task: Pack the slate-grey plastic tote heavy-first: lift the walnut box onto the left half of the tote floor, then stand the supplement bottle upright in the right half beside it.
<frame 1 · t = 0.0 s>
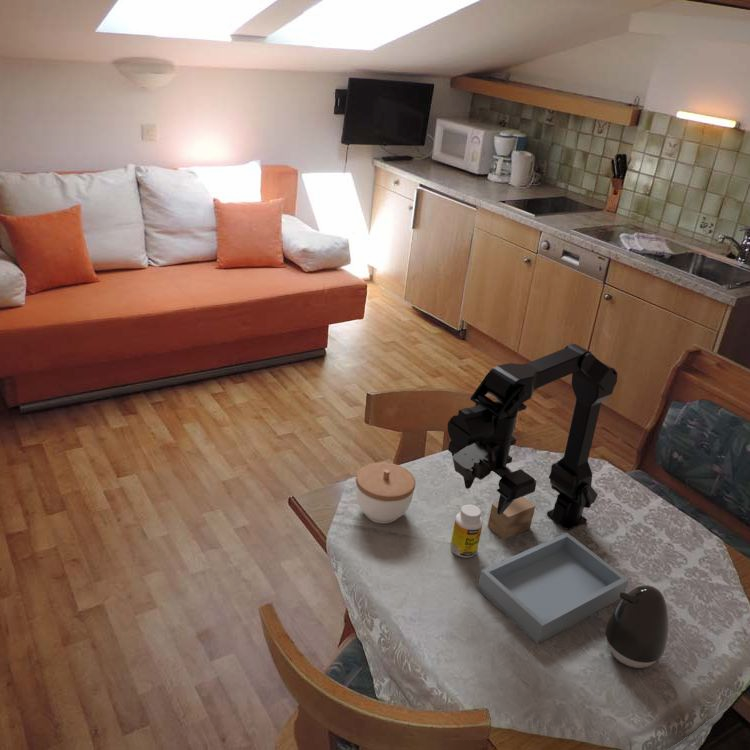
hand: (483, 500, 147), 15 cm above the table, tool pointing down, fingers open, 9 cm apart
lidded bowl: (381, 513, 164), on the table
walnut box: (508, 527, 164), on the table
supplement bottle: (463, 550, 156), on the table
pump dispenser: (628, 655, 135), on the table
tote: (550, 592, 147), on the table
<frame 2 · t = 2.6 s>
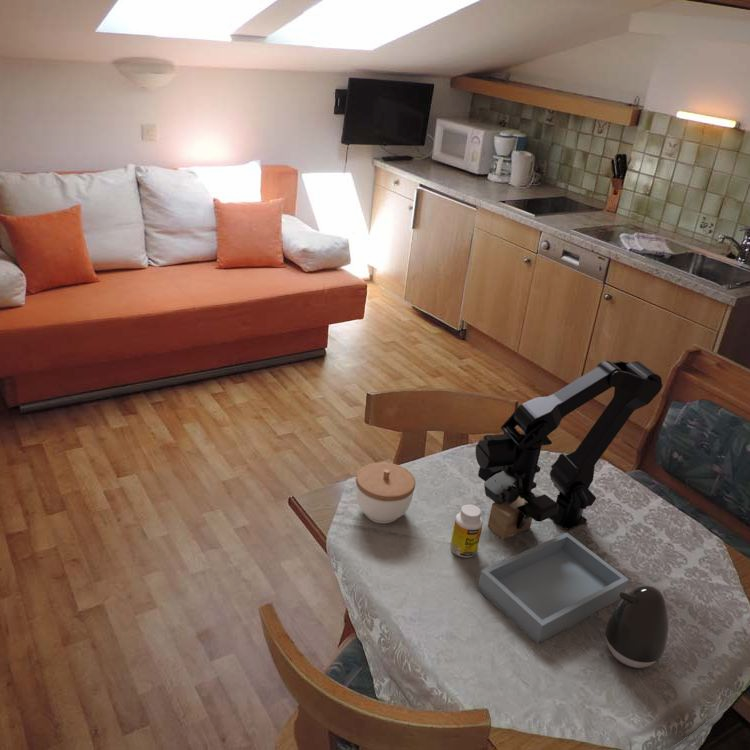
hand: (510, 521, 163), 2 cm above the table, tool pointing down, fingers closed on walnut box, 5 cm apart
walnut box: (508, 527, 164), on the table, touching gripper
everything else where it was.
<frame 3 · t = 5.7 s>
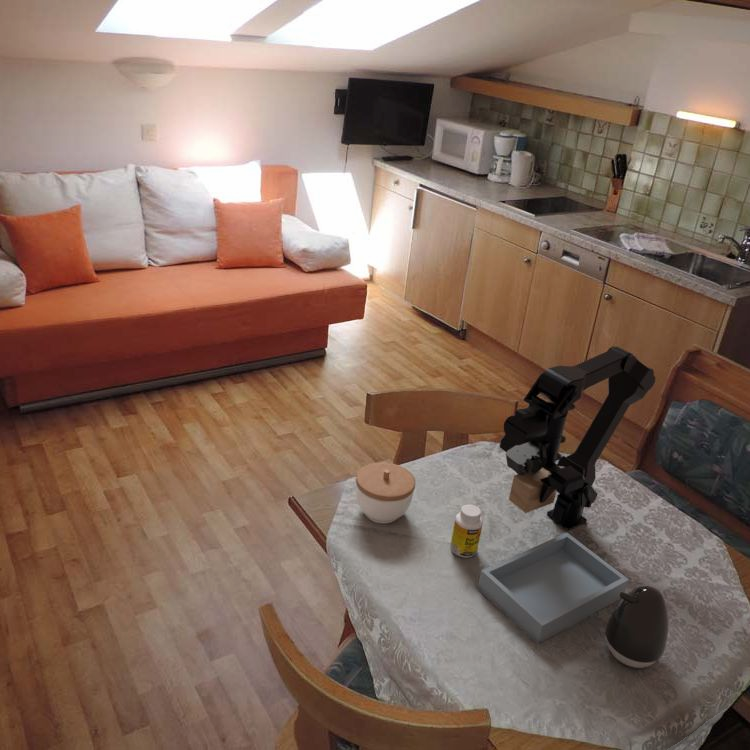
hand: (532, 495, 156), 11 cm above the table, tool pointing down, fingers closed on walnut box, 5 cm apart
walnut box: (531, 501, 156), point 10 cm above the table, touching gripper
everything else where it was.
when the fingers open (4 cm above the table, at t = 8.9 s): walnut box drops 1 cm, resting on tote.
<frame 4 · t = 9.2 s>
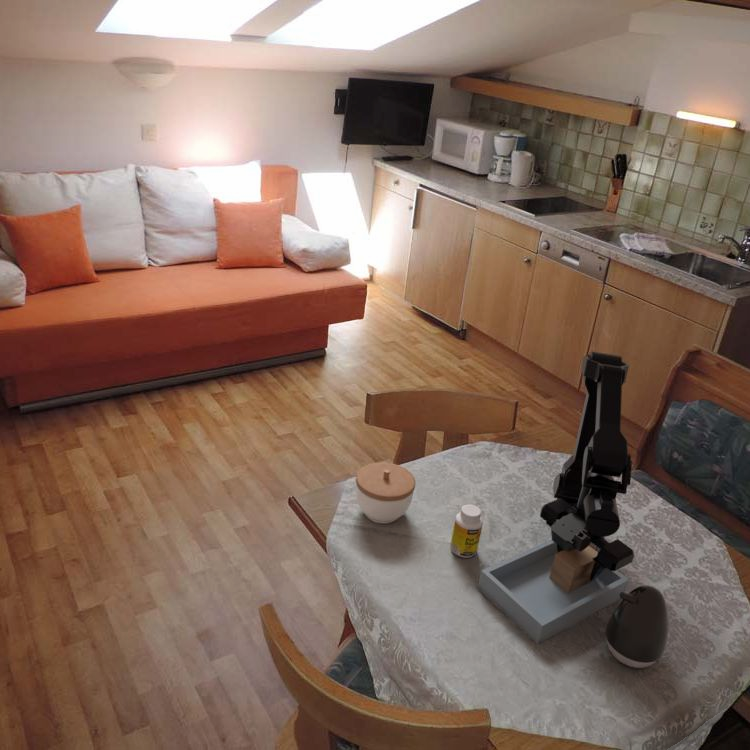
hand: (576, 566, 148), 4 cm above the table, tool pointing down, fingers open, 8 cm apart
walnut box: (572, 578, 150), point 1 cm above the table, touching tote
everything else where it was.
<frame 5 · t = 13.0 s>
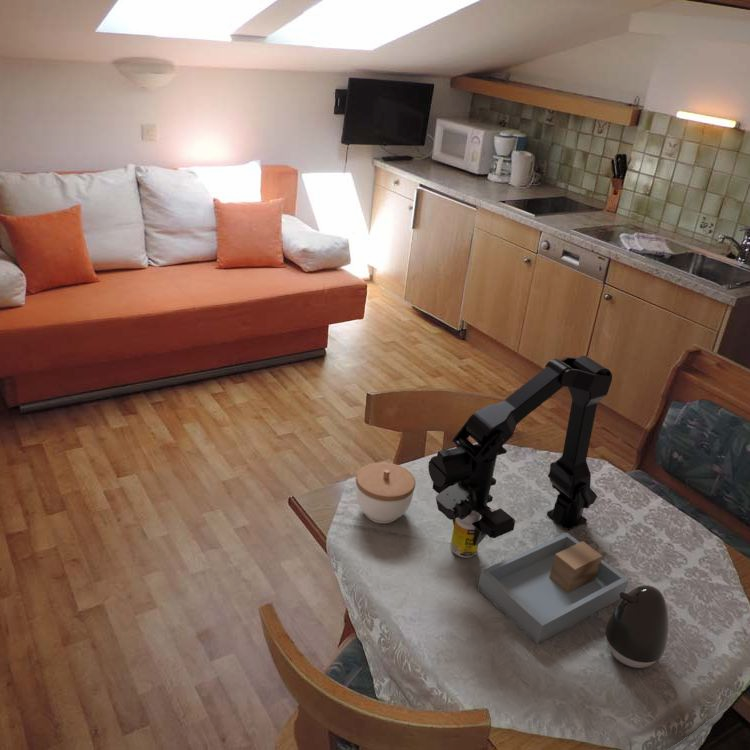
hand: (466, 536, 154), 4 cm above the table, tool pointing down, fingers closed on supplement bottle, 6 cm apart
supplement bottle: (463, 550, 156), on the table, touching gripper
everything else where it was.
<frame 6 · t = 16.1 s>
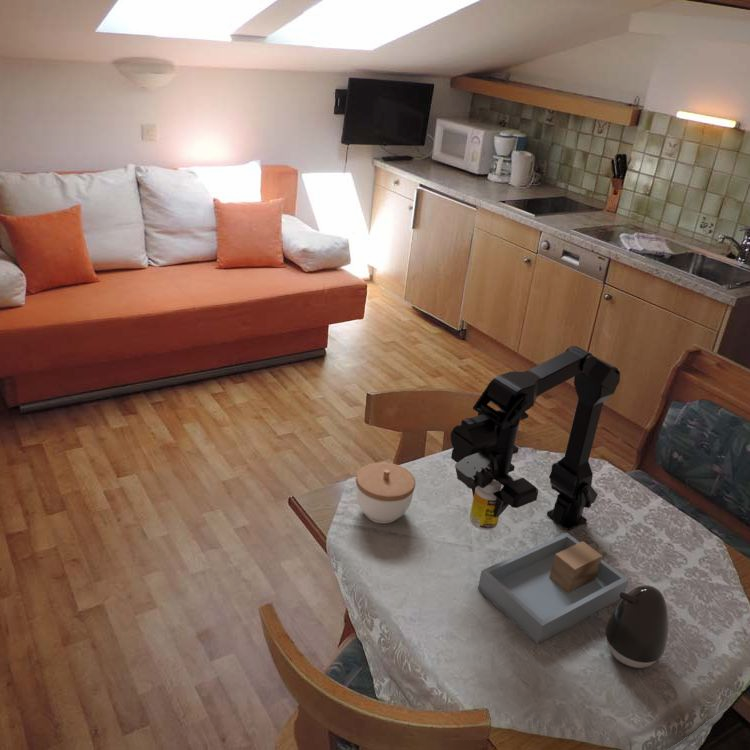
hand: (486, 508, 148), 13 cm above the table, tool pointing down, fingers closed on supplement bottle, 6 cm apart
supplement bottle: (483, 523, 149), point 9 cm above the table, touching gripper
everything else where it was.
when the fingers open (6 cm above the table, at t = 19.2 s): supplement bottle drops 1 cm, resting on tote.
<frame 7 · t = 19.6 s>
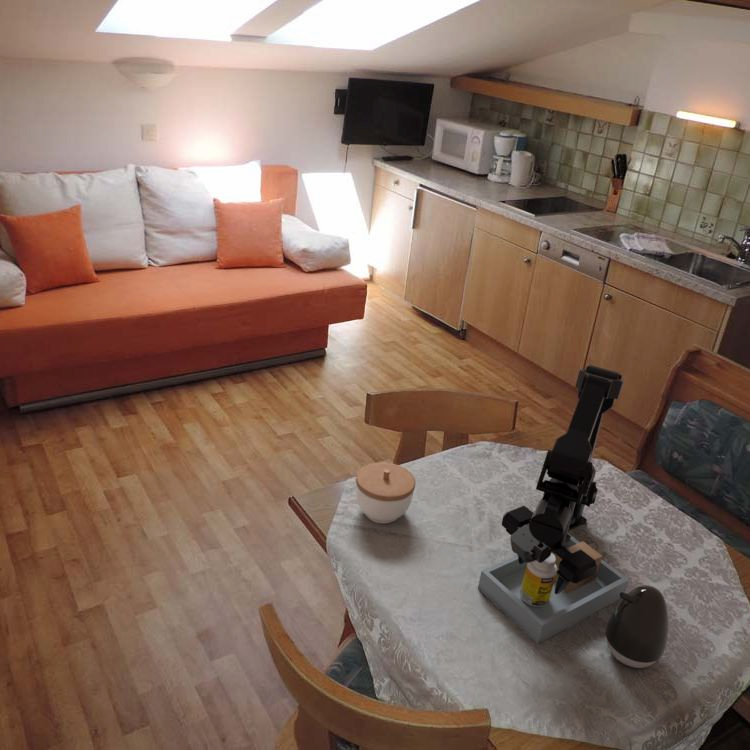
hand: (539, 577, 141), 6 cm above the table, tool pointing down, fingers open, 9 cm apart
supplement bottle: (533, 598, 144), point 1 cm above the table, touching tote
everything else where it was.
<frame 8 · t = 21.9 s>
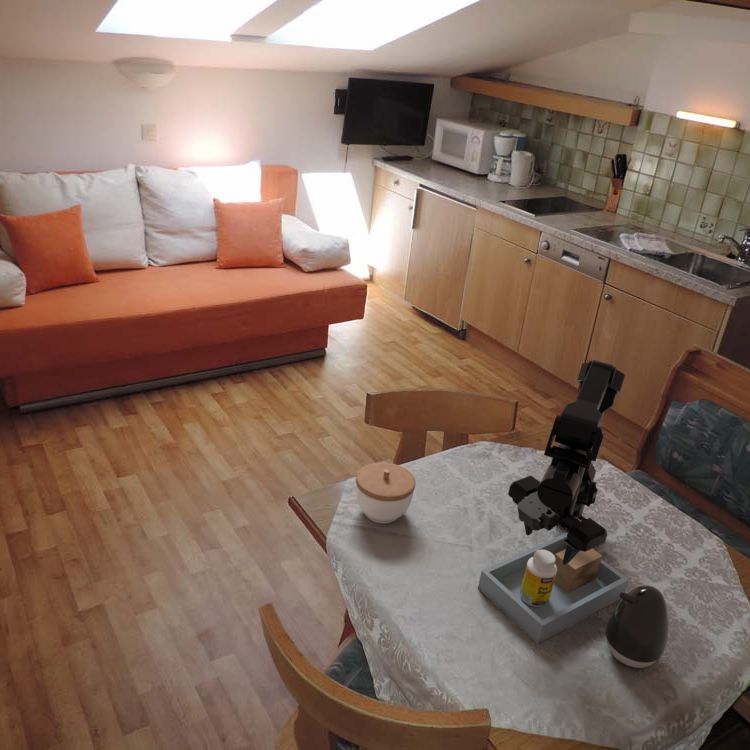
hand: (546, 548, 138), 13 cm above the table, tool pointing down, fingers open, 9 cm apart
nothing on the table moved.
at the end: walnut box inside the target area (0.9 cm from its centre), point 1.0 cm above the table; supplement bottle inside the target area (0.5 cm from its centre), point 0.8 cm above the table; supplement bottle tilted 0° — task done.
